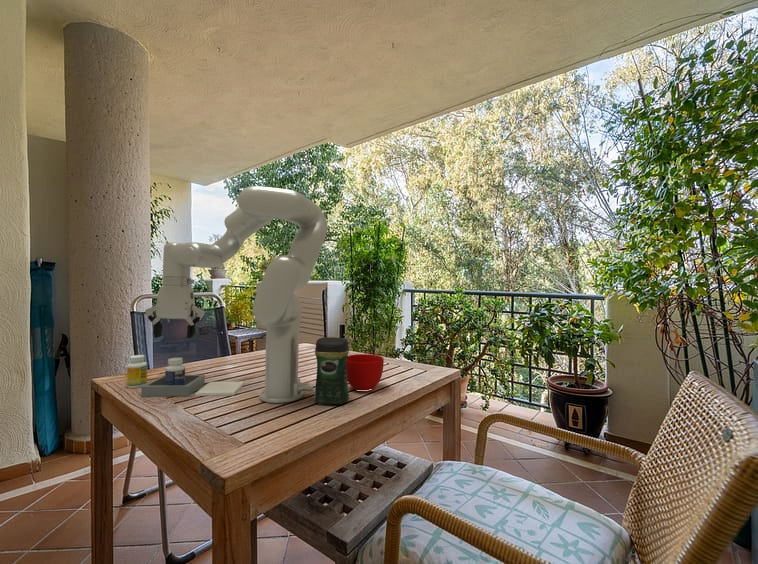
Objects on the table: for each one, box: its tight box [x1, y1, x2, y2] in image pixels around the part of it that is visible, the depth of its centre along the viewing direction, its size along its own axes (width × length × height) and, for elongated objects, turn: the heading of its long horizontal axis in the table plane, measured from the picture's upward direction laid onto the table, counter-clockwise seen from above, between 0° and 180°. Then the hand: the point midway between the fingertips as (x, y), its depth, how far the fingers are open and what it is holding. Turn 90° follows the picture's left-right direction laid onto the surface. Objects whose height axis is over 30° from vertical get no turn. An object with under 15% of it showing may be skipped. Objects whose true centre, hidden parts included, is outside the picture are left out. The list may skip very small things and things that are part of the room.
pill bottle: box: [164, 357, 186, 385], centre depth 112 cm, size 5×5×10 cm
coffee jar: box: [314, 336, 350, 405], centre depth 104 cm, size 10×8×19 cm
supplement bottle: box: [126, 354, 148, 389], centre depth 116 cm, size 5×5×10 cm
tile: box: [194, 381, 246, 397], centre depth 113 cm, size 11×12×1 cm
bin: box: [140, 374, 206, 398], centre depth 112 cm, size 13×13×3 cm
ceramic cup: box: [346, 353, 385, 390], centre depth 119 cm, size 13×17×10 cm
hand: (174, 337), depth 112 cm, fingers open, 9 cm apart
